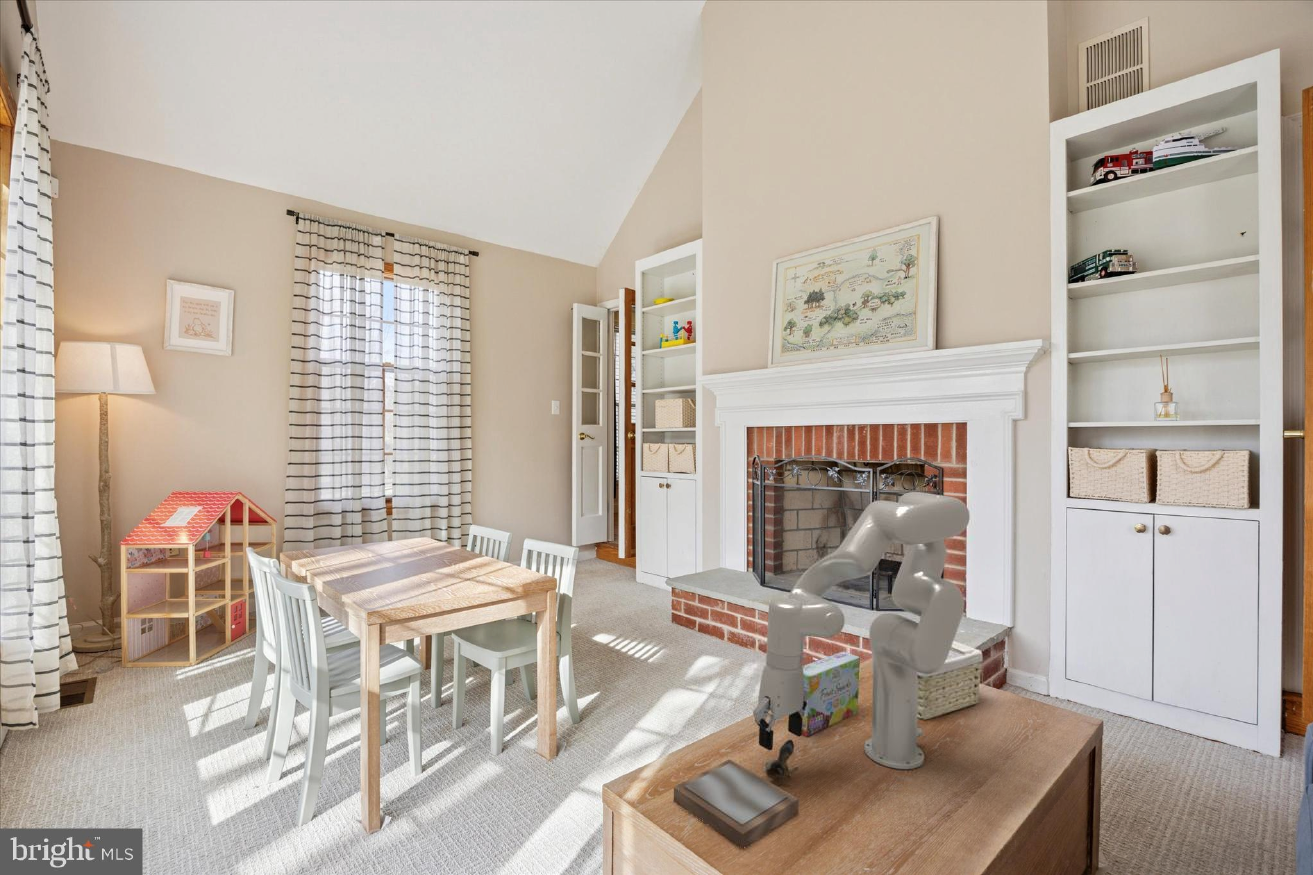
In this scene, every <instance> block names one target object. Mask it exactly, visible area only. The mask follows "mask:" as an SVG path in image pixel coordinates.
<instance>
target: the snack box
mask: <svg viewBox="0 0 1313 875" xmlns="http://www.w3.org/2000/svg"><path fill="white" fill-rule="evenodd" d="M860 661H861V657H860V656H857V655H854V654H852V653H849V652H847V651H841V652H838V653H835V654H832V655H829V656H827V657H824V658H821V659H819V660H816V661H813V662H811V663H808V664H805V665H803V674H804V690H806V691H808V692H809V697H808V700H807V701H806V702H807V706H806V708H805V710H804V712H805V714H804V716H803V717H801V718H803V720H802V736H804V737H809V736H812V735H813V734H816V733H818V732H821V731H822V730H824V729H826V728H828V727H831V726H833V725H835V724H837V723H839V722H841V721H844V720H845V719H848V718H849V717H850V718H851V717H852V716H854V715H856V714H858V712H859V689H860V687H859V685H860V663H861V662H860ZM843 719H844V720H843Z"/></svg>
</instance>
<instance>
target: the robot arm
mask: <svg viewBox="0 0 1313 875" xmlns="http://www.w3.org/2000/svg"><path fill="white" fill-rule="evenodd" d="M970 514H971V513H970V511H969V508H968V506H967V505H966V504H965V503H964V501H962V500H961V499H959V498H957V497H954V496H947V495H941V494H934V493H929V492H920V491H911V492H907V493H906V492H905V493H904V494H902V495H901V496H900V498H899V500H898V501H896V502H895V501H890V500H875V501H873V502H871V503H869V505H868V506H866V507H865V509H864V510H863V512H862V513H861V515H860V517H859V518H858V519H857V521H856V522H855V523H854V525H853V527H852V528H851V529H850V531H849V532H848V534H847V535H846V536H845V538H844V539H843V541H842V543H841V544H840V546H838V548H837V549H836V550H835V551H834V552H832V553H830V554H828V555H827V556H825V557H823V558H822V559H820V560H818V561H816V563H814V564H813V565H811V566H810V567H809V568H808V569H806V570H805V571H804V573H803V574H802V575H801V576H800V577H799V579H798V580H797V582H796V583H795V585H794V586H793V587H792V589H791V590H790V592H789V594H788V596H787V597H778V598H774V599H772V600H771V601H770V603H769V604H768V613H767V614H768V616H767V617H768V618H767V634H766V635H767V638H766V656H765V657H766V658H765V665H764V666H763V670H762V673H761V678H760V683H759V690H758V701H757V702H758V703H757V706H756V707H755V708H754V709H753V711H752V713H753V714H752V715H753V716H754V722H755V723H756V725H757V727H758V728H759V730H758V745H759V746H760V747H762V748H764V749H765V750H768V751H772V750H773V746H774V743H773V742H774V730H772V729H773V727H774V724H775V723H776V721H777V720H781V719H783V718H786V717H788V722H787V731H788V732H789V733H790V734H793V735H794V736H796V737H802V736H803V735H802V720H803V718H801V717H803V716H804V714H805V712H804V710H805V708H806V706H807V702H806V701H807V700H808V697H809V692H808V691H806V690H804V674H803V666H804V665H803V664H804V645H805V637H813V638H824V639H825V638H826V639H828V638H832V637H835V636H837V635H839V633H841V631H843V628H844V627H845V622H846V621H845V618H846V617H845V616H844V612H843V611H842V609H841V608H840V607H839V606H838V605H837V604H835V603H833V602H832V601H829V600H828V599H825V598H823V596H824V595H825V594H826V593H827V592H828V591H829V590H830V589H831V588H832V587H834V586H836V585H837V584H839V583H842V582H844V581H848V580H849V581H850V580H855V579H858V578H863V577H866V576H869V575H871V574H872V573H873V572H874V570H875V569H876V567H877V566H878V564H879V562H880V561H881V560H882V557H884V555H885V554H886V552H887V551H888V549H889V548H890V546H891V545H892V543H893V542H894V543H898V544H902V545H906V550H905V553H904V557H903V559H902V561H901V562H902V563H901V565H900V566H899V570H898V572H897V575H896V578H895V580H894V583H893V586H892V590H891V598H892V599H891V600H892V601H893V603H894V605H896V607H898V608H899V609H901V610H903V611H904V612H907V613H909V614H913V615H914V616H917V617H920V618H919V621H918V622H917V621H915V620H913V619H910V618H908V617H905V616H903V615H900V614H896V613H893V612H891V613H890V612H889V613H888V612H887V613H886V612H885V613H882V614H880V615H878V616H876V617H875V618H874V619H873V621H872V623H871V625H870V627H869V635H868V636H869V637H868V639H869V644H870V645H869V646H870V649H871V650H870V651H871V656H872V703H871V704H872V710H871V712H872V713H871V714H872V715H871V737H870V738H868V739H866V741H865V742H864V752H865V754H866V755H867V756H868V757H869V758H870V759H871V760H873V762H875V763H878V764H880V765H883V766H885V767H888V768H892V769H898V770H913V769H916V768H919V767H920V766H922V765H924V762H925V755H924V752H923V750H922V749H921V748H920V747H919V746H918V744H917V743H918V739H919V738H920V737H921V736H923V735H924V731H923V729H922V728H921V727H918V717H917V713H918V676H917V671H918V672H920V673H923V674H932V673H935V672H937V671H938V670H939V669H940V668H941V667H942V666H943V664H944V663H945V661H946V659H947V657H949V653H950V651H951V650H950V649H951V646H952V643H953V641H955V638H956V635H957V632H958V629H959V627H960V623H961V621H962V618H963V616H964V615H963V614H964V608H965V602H964V596H963V593H962V591H961V589H960V587H958V585H957V584H955V583H954V582H952V581H950V580H947V579H944V578H942V574H943V571H944V568H945V564H946V561H947V555H948V554H947V546H946V542H945V540H946V539H950V538H954V537H956V536H958V535H960V534H962V533H964V531H965V530H966V529H967V527H968V525H969V522H970V517H971V516H970ZM769 712H770V713H769ZM767 718H769V720H768V722H767V721H766V719H767Z"/></svg>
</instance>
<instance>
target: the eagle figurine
mask: <svg viewBox="0 0 1313 875" xmlns="http://www.w3.org/2000/svg"><path fill="white" fill-rule="evenodd" d="M794 749H795V744H794V742H793V739H788V740H786V741H785V742H784V743H783V744H782V746H781V747H780V748H779V752H778V754H779V755H778V758H777V759H775V758H774V759H771V760H769V761H768V762H766V763H765V770H766V771H768V770H770V769H772V768H773V769H774V770H775V772H776V774H775V775H774V776H775V777H776V778H779V782H778V783H779V784H778V785H779V786H782V784H783V783H784V781H785V780H786V778H787V777H788V776H789V777H790V778H792V777H793V775H792V774H794V773H795V772H796V771H797V770H798V769H799V766H796V767H795V768H792V769H790V768H789V766H788V763H787V761H788V760H789V759H790V757H791V756H792V755H793V754H794ZM779 786H778V787H779Z"/></svg>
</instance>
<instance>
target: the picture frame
mask: <svg viewBox="0 0 1313 875" xmlns="http://www.w3.org/2000/svg"><path fill="white" fill-rule="evenodd" d="M799 800H800V799H799V798H798V797H796V796H795V795H793V794H791V793H789V792H787V791H786V790H784V789H782V788H781V787H779V786H777V785H775V783H772V782H770V781H769V780H767V779H765V778H763V777H761V776H760V775H757V774H756V773H754V772H752V771H751V770H749V769H747V768H746V767H744V766H742V765H740V764H738V763H737V762H735V761H733V760H732V759H730V758H729V759H727V760H725V761H723V762H721V763H719V764H717V765H715V766H713V767H711V768H709V769H707V770H705V771H703V772H701V773H699V774H697V775H695V776H693V777H691V778H689V779H687V780H685V781H683V782H681V783H680V784H679V783H678V784H677V785H676V786H673V801H674V802H675V803H676V804H678V805H679V806H681V807H682V808H683V809H685V810H686V811H687V812H689V813H690V812H691V813H690V814H692V815H693V816H695V817H696V818H698V819H699V820H700V819H701V820H700V821H702V820H703V821H702V822H704V823H705V824H706V825H707V824H708V825H707V826H709V827H710V826H711V829H713V830H715V832H718V833H719V834H720V835H721V836H723V837H724V838H726V839H728V840H729V841H730V842H732V843H733V844H734V845H736V846H737V847H738V848H740V847H741V848H740V849H741V850H743V848H744V847H745V848H747V847H748V846H750V845H751V844H753V843H755V842H756V841H758V840H759V839H761V838H762V837H764V836H765V835H766V833H767V834H768V833H770V832H771V831H773V830H774V829H776V828H778V827H779V826H781V825H782V824H783V823H785V822H786V821H788V820H790V819H791V818H792V817H794V816H796V815H797V814H799V808H800V807H799V804H800V803H799ZM769 831H770V832H769ZM749 844H750V845H749ZM745 848H744V849H745Z"/></svg>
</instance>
